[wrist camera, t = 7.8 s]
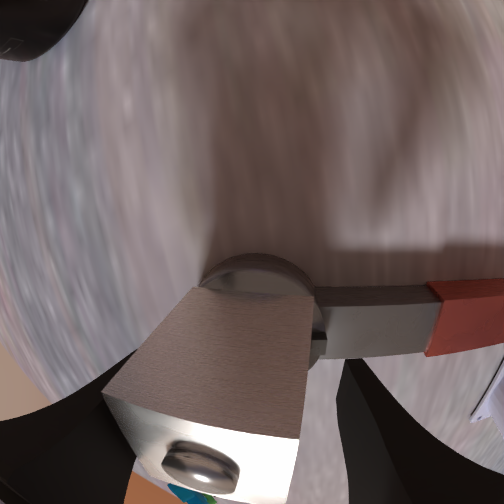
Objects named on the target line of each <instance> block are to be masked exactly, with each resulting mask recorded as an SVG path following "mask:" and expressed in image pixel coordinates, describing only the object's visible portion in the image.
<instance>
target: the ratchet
mask: <svg viewBox="0 0 504 504" xmlns="http://www.w3.org/2000/svg"><path fill="white" fill-rule="evenodd" d="M199 287H202V288H212V289H222V290H233V291H245V292H257V293H269V294H283V295H297V296H313V297H314V306H313V320H312V333H311V345H310V356H309V366H308V370H309V369H310V368H311V367H312V366H313V365H314V364H315V363H316V361H317V360H318V359H346V358H364V357H378V356H390V355H401V354H410V353H419V352H424V354H425V356H426V357H431V356H438V355H444V354H450V353H456V352H462V351H467V350H472V349H477V348H482V347H487V346H491V345H496V344H500V343H504V278H500V279H482V280H460V281H433V282H427V284H426V285H421V286H382V287H314V285H313V283H312V282H311V280H310V279H309V278H308V277H307V275H306V274H305V273H304V272H303V271H302V270H300V269H299V268H298V267H297V266H295V265H294V264H292V263H290V262H288V261H286V260H284V259H282V258H279V257H276V256H272V255H267V254H258V253H254V254H243V255H238V256H235V257H232V258H229V259H227V260H225V261H223V262H221V263H220V264H218V265H217V266H215V267H214V268H213V269H212V270H211V271H210V272H209V273H208V274H207V275H206V276H205V278H204V279H203V281H202V283H201V284H200V286H199Z"/></svg>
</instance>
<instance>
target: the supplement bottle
mask: <svg viewBox="0 0 504 504" xmlns="http://www.w3.org/2000/svg"><path fill="white" fill-rule="evenodd" d="M84 3H85V0H0V59H4V60H12V61H19V62H25V61H30V60H33V59H35V58H37V57H39V56H41V55H43V54H44V53H46V52H47V51H48V50H50V49H51V48H52V47H53V46H54V45H55V44H56V43H57V42H58V41H59V40H60V39H61V38H62V37H63V36H64V35H65V34H66V33H67V31H68V30H69V29H70V27H71V26H72V25H73V23H74V22H75V20H76V19H77V17H78V15H79V14H80V12H81V10H82V8H83V5H84Z"/></svg>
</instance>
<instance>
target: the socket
mask: <svg viewBox="0 0 504 504" xmlns="http://www.w3.org/2000/svg"><path fill="white" fill-rule="evenodd" d="M313 306H314V297H313V296H297V295H283V294H269V293H257V292H245V291H233V290H222V289H212V288H202V287H192V288H191V289H190V291H189V292H188V293H187V294H186V295H185V296H184V297H183V298H182V300H181V301H180V302H179V303H178V304H177V305H176V306H175V307H174V308H173V310H172V311H171V312H170V313H169V314H168V315H167V316H166V317H165V319H164V320H163V321H162V322H161V323H160V324H159V325H158V327H157V328H156V329H155V330H154V331H153V332H152V333H151V334H150V336H149V337H148V338H147V339H146V340H145V341H144V342H143V344H142V345H141V346H140V347H139V348H138V349H137V350H136V352H135V353H134V354H133V355H132V356H131V357H130V359H129V360H128V361H127V362H126V363H125V364H124V365H123V367H122V368H121V369H120V370H119V371H118V372H117V374H116V375H115V376H114V377H113V378H112V379H111V381H110V382H109V383H108V384H107V385H106V386H105V388H104V389H103V390H102V391H101V393H102V395H103V397H104V399H105V401H106V403H107V405H108V407H109V409H110V411H111V413H112V415H113V417H114V419H115V420H116V422H117V424H118V426H119V428H120V429H121V431H122V433H123V435H124V436H125V438H126V440H127V441H128V443H129V445H130V446H131V448H132V449H133V451H134V453H135V454H136V456H137V457H138V459H139V460H140V462H141V463H142V465H143V466H144V468H145V469H146V471H147V472H148V474H149V475H150V476H152V477H154V478H157V479H160V480H163V481H165V482H168V483H171V484H174V485H177V486H180V487H184V488H187V489H190V490H194V491H197V492H201V493H205V494H209V495H213V496H217V497H221V498H225V499H230V500H235V501H240V502H245V503H251V504H285V503H286V499H287V495H288V491H289V486H290V482H291V477H292V473H293V468H294V463H295V459H296V454H297V448H298V443H299V438H300V431H301V424H302V416H303V409H304V401H305V393H306V384H307V375H308V366H309V356H310V345H311V333H312V320H313Z"/></svg>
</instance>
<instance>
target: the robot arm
mask: <svg viewBox="0 0 504 504" xmlns="http://www.w3.org/2000/svg"><path fill="white" fill-rule="evenodd" d="M136 350H137V349H136ZM136 350H135V351H133V352H132V353H130V354H129V355H128V356H126V357H125V358H124V359H122V360H121V361H120V362H118V363H117V364H116V365H114V366H113V367H111V368H110V369H109V370H107V371H106V372H105V373H103V374H102V375H100V376H99V377H98V378H96V379H95V380H93V381H92V382H90V383H89V384H87V385H86V386H84V387H82V388H81V389H79V390H78V391H76V392H75V393H73V394H71V395H69V396H68V397H66V398H64V399H62V400H60V401H58V402H56V403H54V404H52V405H50V406H47V407H45V408H42V409H40V410H37V411H35V412H32V413H30V414H27V415H23V416H20V417H17V418H13V419H9V420H4V421H0V504H124V499H125V495H126V490H127V486H128V482H129V479H130V475H131V472H132V469H133V465H134V462H135V460H136V457H137V456H136V454H135V453H134V451H133V449H132V448H131V446H130V445H129V443H128V441H127V440H126V438H125V436H124V435H123V433H122V431H121V429H120V428H119V426H118V424H117V422H116V420H115V419H114V417H113V415H112V413H111V411H110V409H109V407H108V405H107V403H106V401H105V399H104V397H103V395H102V393H101V391H102V390H103V389H104V388H105V386H106V385H107V384H108V383H109V382H110V381H111V379H112V378H113V377H114V376H115V375H116V374H117V372H118V371H119V370H120V369H121V368H122V367H123V365H124V364H125V363H126V362H127V361H128V360H129V359H130V357H131V356H132V355H133V354H134V353H135V352H136ZM336 405H337V419H338V426H339V431H340V437H341V442H342V447H343V452H344V458H345V463H346V469H347V475H348V487H349V504H504V475H503V474H500V473H498V472H495V471H492V470H490V469H487V468H485V467H483V466H481V465H479V464H477V463H475V462H473V461H471V460H469V459H467V458H465V457H464V456H462V455H460V454H459V453H457V452H456V451H454V450H453V449H451V448H450V447H448V446H447V445H445V444H444V443H442V442H441V441H439V440H438V439H437V438H435V437H434V436H433V435H432V434H431V433H429V432H428V431H427V430H426V429H425V428H423V427H422V426H421V425H420V424H419V423H418V422H417V421H416V420H415V419H414V418H413V417H412V416H411V415H410V414H409V413H408V412H407V411H406V410H405V409H404V408H403V407H402V406H401V405H400V404H399V403H398V401H397V400H396V399H395V398H394V397H393V396H392V395H391V393H390V392H389V391H388V390H387V389H386V388H385V386H384V385H383V384H382V383H381V381H380V380H379V379H378V378H377V376H376V375H375V374H374V373H373V371H372V370H371V369H370V367H369V366H368V365H367V364H366V362H365V361H364V360H363V359H362V358H359V359H345V362H344V367H343V371H342V376H341V380H340V384H339V388H338V392H337V396H336ZM490 416H492V418H493V420H494V422H495V424H496V426H497V427H498V429H499V431H500V433H501V435H502V437H503V439H504V361H503V363H502V365H501V366H500V368H499V370H498V372H497V374H496V376H495V378H494V380H493V381H492V383H491V385H490V387H489V389H488V390H487V392H486V394H485V395H484V397H483V399H482V400H481V402H480V404H479V405H478V407H477V408H476V410H475V411H474V413H473V414H472V416H471V417H470V422H471V423H474V422H477V421H479V420H482V419H485V418H488V417H490Z"/></svg>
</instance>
